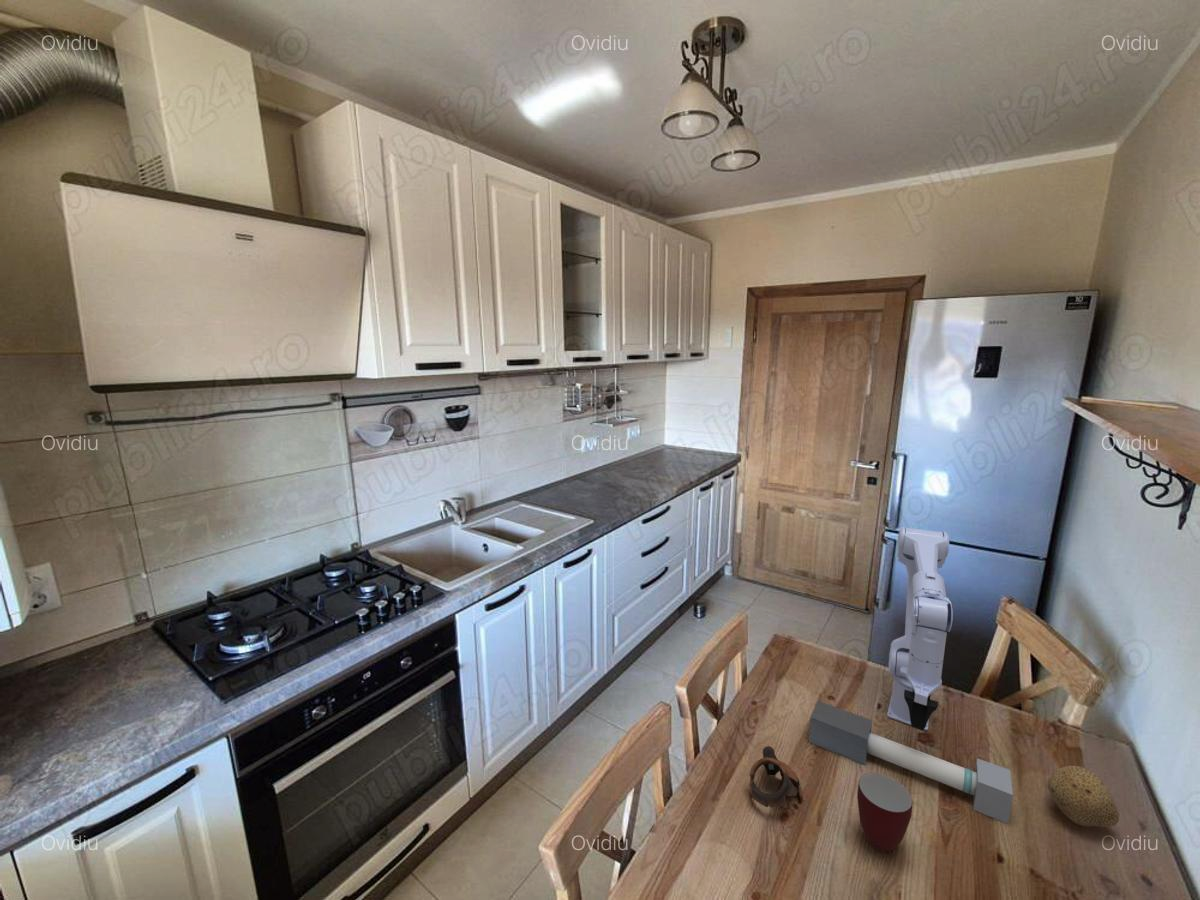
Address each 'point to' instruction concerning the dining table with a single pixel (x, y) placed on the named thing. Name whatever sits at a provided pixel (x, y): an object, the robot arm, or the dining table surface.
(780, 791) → the brown ring clamp
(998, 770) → the socket
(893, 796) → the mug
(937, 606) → the robot arm
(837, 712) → the grey stone block
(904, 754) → the tube
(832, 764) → the dining table surface
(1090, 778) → the natural sponge
